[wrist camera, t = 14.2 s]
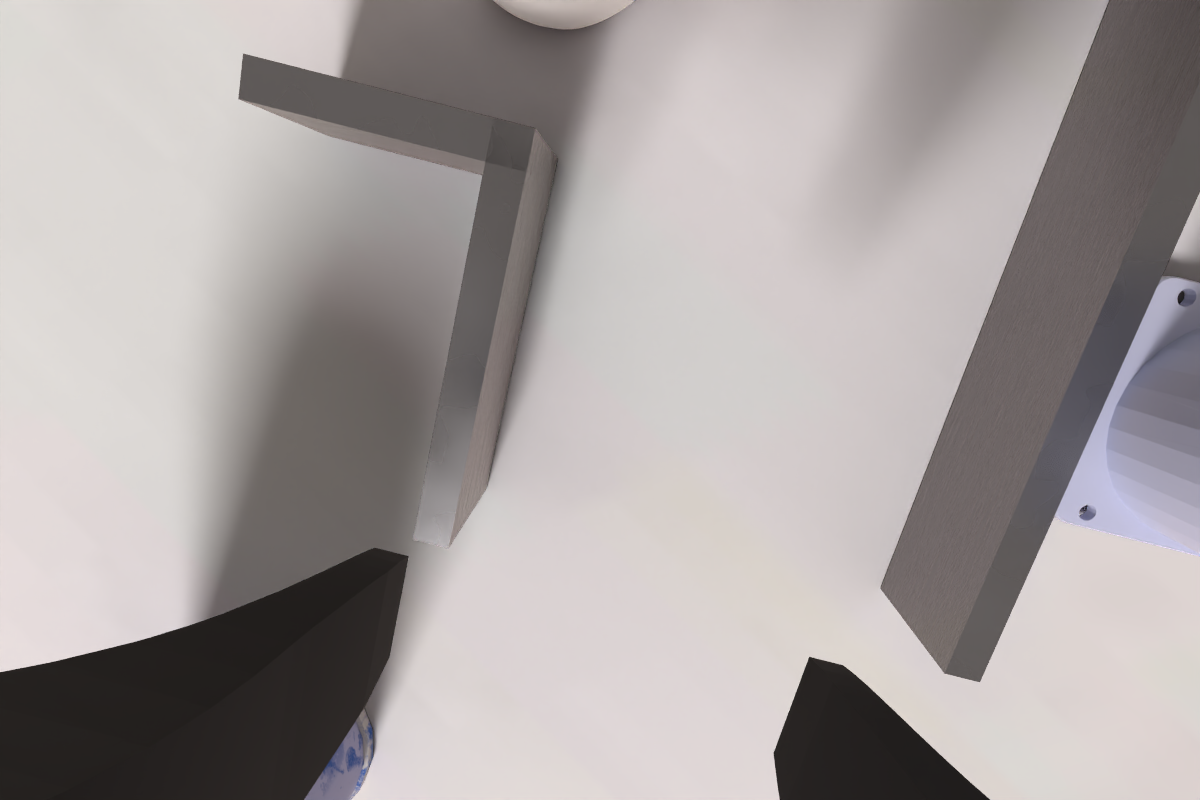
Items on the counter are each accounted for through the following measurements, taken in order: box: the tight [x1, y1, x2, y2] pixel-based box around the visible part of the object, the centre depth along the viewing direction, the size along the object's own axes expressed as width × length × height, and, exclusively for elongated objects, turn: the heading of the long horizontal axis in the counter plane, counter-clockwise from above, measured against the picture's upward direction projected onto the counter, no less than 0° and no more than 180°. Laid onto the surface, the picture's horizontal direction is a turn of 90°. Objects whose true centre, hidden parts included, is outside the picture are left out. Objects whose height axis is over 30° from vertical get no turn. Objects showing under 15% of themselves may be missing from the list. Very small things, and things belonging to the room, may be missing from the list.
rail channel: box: [239, 0, 1200, 682], centre depth 16 cm, size 22×26×4 cm
